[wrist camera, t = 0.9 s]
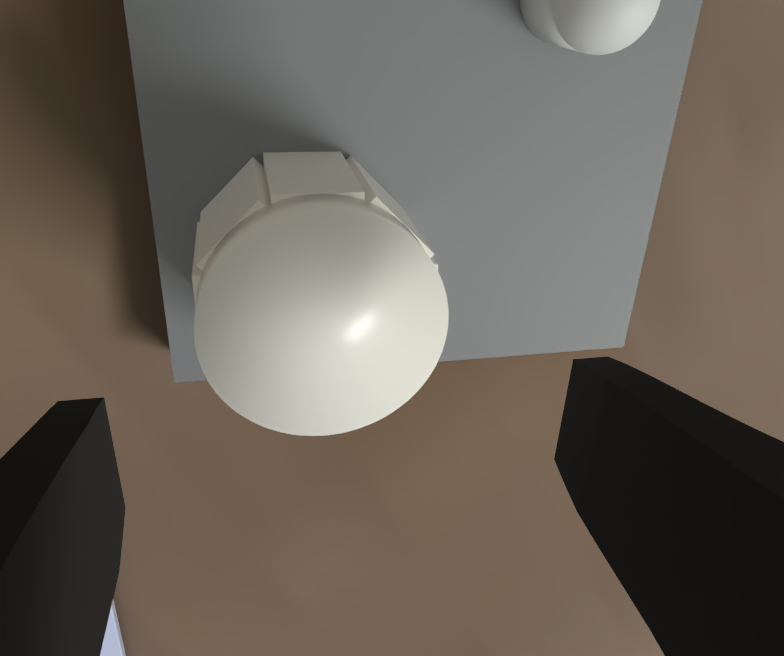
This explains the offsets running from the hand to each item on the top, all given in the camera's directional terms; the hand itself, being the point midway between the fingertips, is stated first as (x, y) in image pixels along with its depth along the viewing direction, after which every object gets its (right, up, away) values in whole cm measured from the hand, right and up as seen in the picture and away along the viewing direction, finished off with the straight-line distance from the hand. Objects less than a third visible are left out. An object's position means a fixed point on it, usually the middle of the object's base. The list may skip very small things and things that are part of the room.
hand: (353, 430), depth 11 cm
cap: (-2, +3, +6) cm, 8 cm away
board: (+1, +7, +7) cm, 10 cm away
